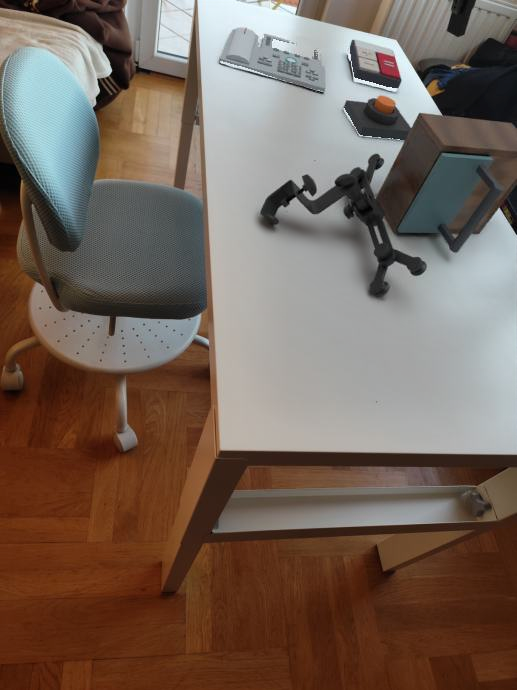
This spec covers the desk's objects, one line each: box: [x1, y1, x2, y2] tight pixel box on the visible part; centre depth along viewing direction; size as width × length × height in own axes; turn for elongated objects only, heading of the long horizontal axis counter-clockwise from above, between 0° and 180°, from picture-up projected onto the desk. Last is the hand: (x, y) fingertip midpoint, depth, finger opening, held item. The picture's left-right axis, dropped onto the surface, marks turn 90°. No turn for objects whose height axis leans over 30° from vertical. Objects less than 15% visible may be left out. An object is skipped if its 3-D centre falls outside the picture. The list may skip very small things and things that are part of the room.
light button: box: [374, 95, 397, 114], centre depth 99 cm, size 4×4×2 cm
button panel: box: [349, 39, 402, 89], centre depth 117 cm, size 11×4×15 cm
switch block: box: [343, 97, 412, 141], centre depth 101 cm, size 12×10×4 cm
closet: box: [375, 112, 517, 235], centre depth 80 cm, size 18×8×16 cm, turn 104°
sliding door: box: [397, 153, 504, 254], centre depth 74 cm, size 9×7×14 cm
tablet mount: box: [259, 153, 428, 297], centre depth 73 cm, size 27×14×17 cm
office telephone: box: [218, 27, 327, 93], centre depth 109 cm, size 23×3×20 cm
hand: (455, 32), depth 82 cm, fingers closed
